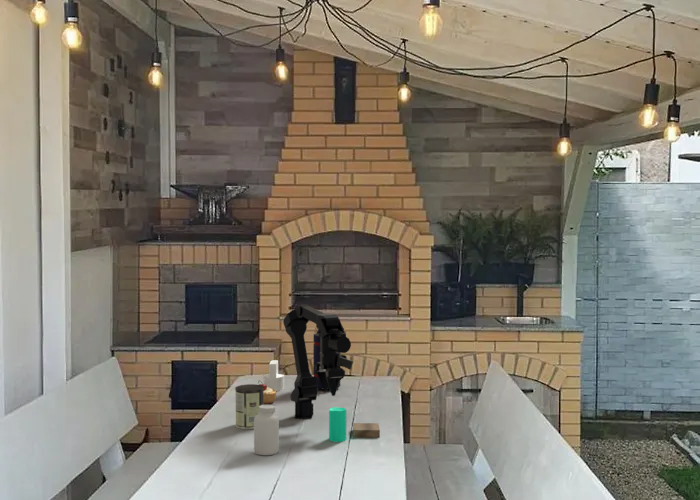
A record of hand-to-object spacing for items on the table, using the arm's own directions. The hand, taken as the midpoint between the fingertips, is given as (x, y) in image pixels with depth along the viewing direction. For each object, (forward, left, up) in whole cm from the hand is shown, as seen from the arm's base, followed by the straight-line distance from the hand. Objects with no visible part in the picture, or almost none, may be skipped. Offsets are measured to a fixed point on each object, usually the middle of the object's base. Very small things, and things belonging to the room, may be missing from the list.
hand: (329, 393), depth 287 cm
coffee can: (-29, +3, -13) cm, 32 cm away
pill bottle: (-20, -29, -13) cm, 37 cm away
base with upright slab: (-25, +62, -13) cm, 68 cm away
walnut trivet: (+13, -7, -13) cm, 19 cm away
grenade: (-2, +63, -13) cm, 65 cm away
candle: (+3, -14, -13) cm, 19 cm away
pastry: (-28, +38, -13) cm, 49 cm away
